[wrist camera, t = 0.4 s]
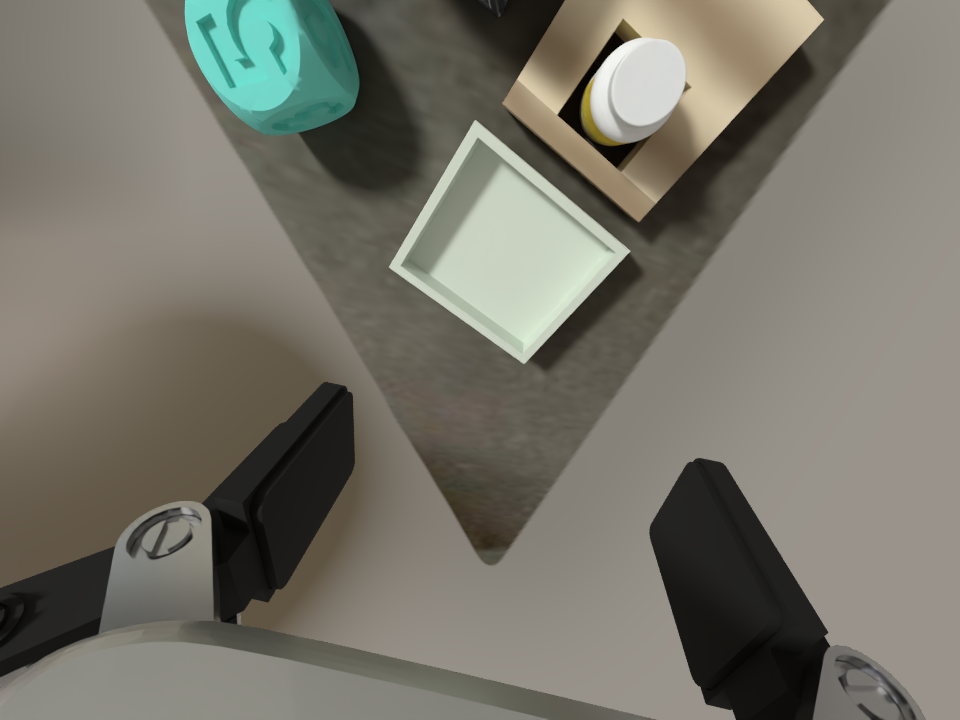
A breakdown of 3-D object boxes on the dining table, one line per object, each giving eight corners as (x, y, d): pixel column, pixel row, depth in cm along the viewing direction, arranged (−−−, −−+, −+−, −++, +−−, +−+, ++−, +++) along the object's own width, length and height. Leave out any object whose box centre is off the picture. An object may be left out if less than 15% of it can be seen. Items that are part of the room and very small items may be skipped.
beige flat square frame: (650, -128, 23) (665, -165, 20) (794, 34, 26) (823, 19, 23) (505, 108, 30) (502, 103, 27) (630, 217, 32) (638, 222, 30)
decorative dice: (245, 29, 30) (156, -11, 23) (327, -18, 28) (257, -78, 21) (296, 138, 33) (232, 132, 26) (372, 103, 31) (325, 87, 24)
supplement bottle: (614, 161, 31) (645, 161, 22) (564, 117, 30) (576, 100, 21) (666, 95, 28) (723, 66, 20) (613, 45, 27) (649, -7, 19)
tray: (481, 123, 31) (475, 119, 28) (621, 242, 34) (630, 251, 30) (401, 258, 37) (388, 267, 34) (524, 348, 40) (524, 364, 37)
